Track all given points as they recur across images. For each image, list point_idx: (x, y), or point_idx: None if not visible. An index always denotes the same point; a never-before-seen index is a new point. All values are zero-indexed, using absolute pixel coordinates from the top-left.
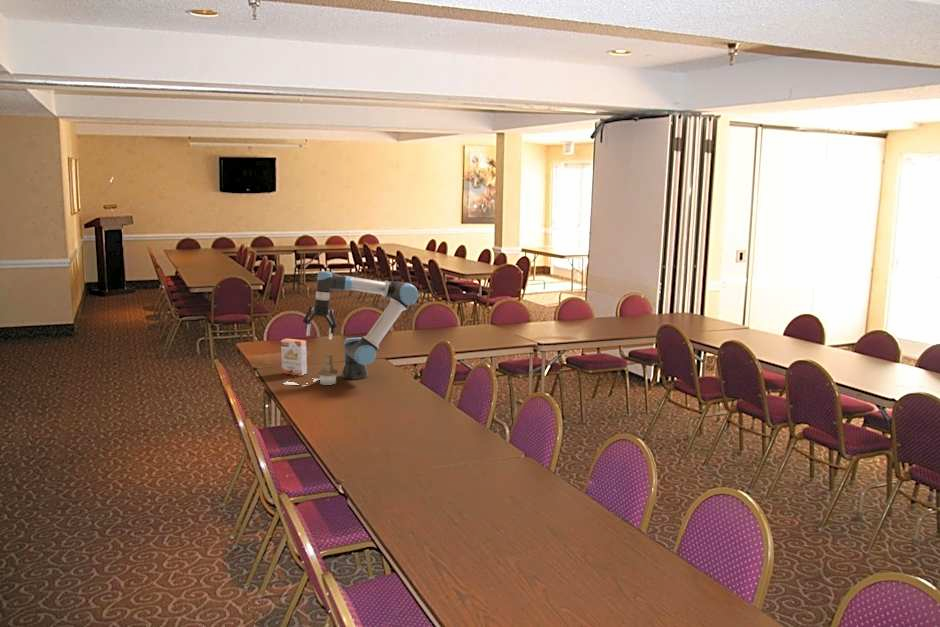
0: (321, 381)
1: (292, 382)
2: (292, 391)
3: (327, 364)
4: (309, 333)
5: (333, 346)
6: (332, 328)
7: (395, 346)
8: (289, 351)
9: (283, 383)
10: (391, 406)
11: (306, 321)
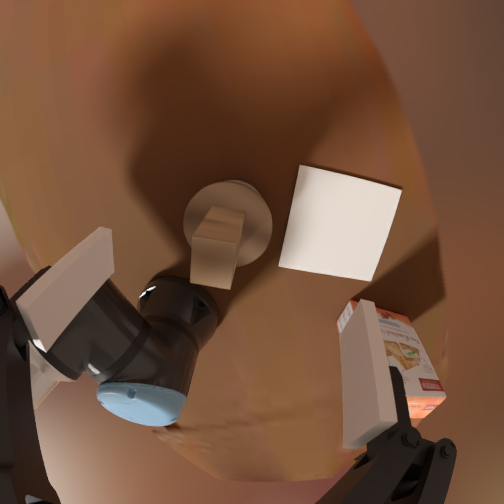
0: (252, 188)
1: (370, 213)
2: (344, 94)
3: (213, 220)
4: (344, 346)
5: (301, 467)
6: (13, 302)
7: (198, 464)
8: (410, 364)
9: (398, 197)
10: (23, 32)
11: (413, 458)
